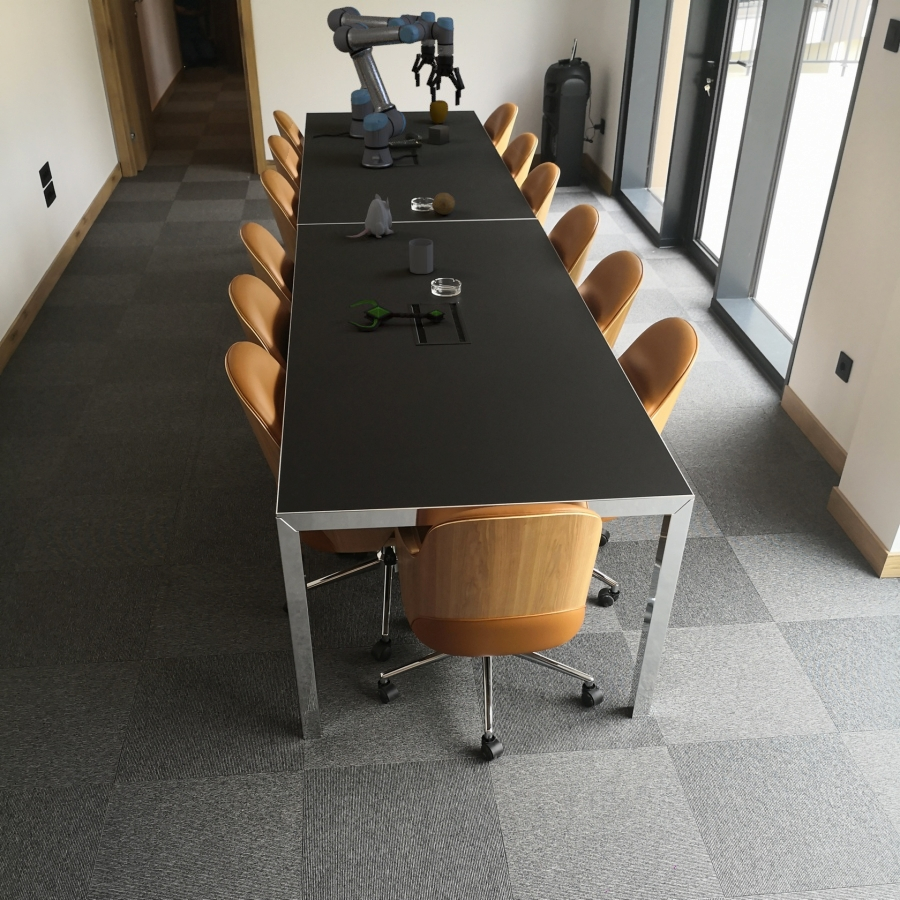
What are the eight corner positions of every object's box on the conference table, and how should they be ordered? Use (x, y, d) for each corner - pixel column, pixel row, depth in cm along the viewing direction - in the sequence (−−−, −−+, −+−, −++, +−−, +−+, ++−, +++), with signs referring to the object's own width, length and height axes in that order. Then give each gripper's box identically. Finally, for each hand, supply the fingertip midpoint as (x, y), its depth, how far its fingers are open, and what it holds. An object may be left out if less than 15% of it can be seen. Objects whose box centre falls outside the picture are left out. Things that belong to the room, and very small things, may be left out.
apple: (448, 125, 501) (448, 101, 494) (429, 125, 501) (429, 101, 494) (448, 121, 510) (448, 98, 504) (430, 121, 511) (429, 97, 504)
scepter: (445, 294, 271) (348, 292, 269) (446, 325, 264) (347, 323, 262) (443, 307, 276) (349, 305, 274) (445, 338, 269) (347, 336, 267)
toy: (399, 233, 341) (398, 195, 333) (354, 248, 327) (351, 208, 319) (383, 228, 346) (382, 190, 338) (338, 242, 332) (335, 203, 324)
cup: (409, 265, 311) (408, 238, 306) (432, 265, 312) (431, 238, 307) (410, 274, 304) (409, 246, 299) (433, 273, 305) (433, 246, 299)
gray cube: (437, 140, 472) (437, 124, 467) (449, 142, 468) (449, 126, 464) (428, 143, 466) (428, 127, 462) (440, 145, 462) (440, 129, 458)
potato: (453, 208, 369) (453, 189, 365) (456, 218, 357) (456, 199, 353) (431, 208, 368) (430, 189, 364) (432, 218, 356) (432, 199, 352)
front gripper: (418, 53, 402) (419, 101, 414) (463, 58, 390) (463, 108, 402) (427, 51, 407) (428, 99, 419) (472, 56, 396) (471, 105, 407)
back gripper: (404, 43, 456) (405, 86, 468) (443, 48, 444) (442, 92, 456) (413, 41, 461) (413, 84, 473) (451, 46, 449) (450, 90, 461)
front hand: (445, 103), depth 410 cm, fingers open, 13 cm apart
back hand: (427, 88), depth 464 cm, fingers open, 13 cm apart
